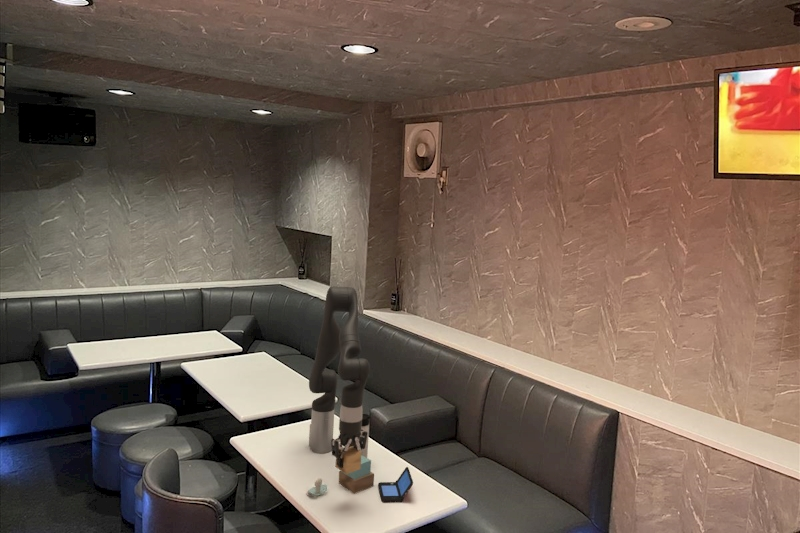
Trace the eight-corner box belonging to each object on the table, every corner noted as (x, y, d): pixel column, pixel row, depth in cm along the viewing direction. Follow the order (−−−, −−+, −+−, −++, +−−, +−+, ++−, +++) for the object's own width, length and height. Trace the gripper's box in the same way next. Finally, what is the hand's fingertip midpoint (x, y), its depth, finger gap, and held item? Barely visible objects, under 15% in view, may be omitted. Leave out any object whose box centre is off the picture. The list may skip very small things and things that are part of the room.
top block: (341, 471, 203) (341, 458, 203) (356, 465, 209) (357, 452, 208) (354, 479, 198) (355, 466, 198) (370, 473, 204) (371, 460, 203)
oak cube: (335, 466, 189) (336, 450, 188) (349, 461, 193) (350, 445, 193) (346, 474, 185) (347, 456, 184) (360, 468, 189) (361, 452, 188)
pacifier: (302, 494, 196) (313, 500, 192) (302, 477, 195) (313, 483, 191) (318, 487, 201) (329, 493, 197) (318, 470, 200) (329, 476, 197)
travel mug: (365, 469, 216) (368, 419, 214) (348, 466, 218) (351, 417, 215) (369, 462, 222) (372, 413, 220) (353, 459, 224) (356, 411, 221)
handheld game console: (377, 485, 205) (378, 465, 204) (406, 484, 207) (407, 465, 206) (381, 503, 193) (382, 483, 192) (412, 503, 194) (413, 482, 194)
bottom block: (338, 484, 204) (339, 471, 204) (357, 477, 210) (358, 464, 210) (354, 494, 198) (354, 481, 197) (373, 486, 204) (374, 473, 204)
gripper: (360, 408, 194) (357, 454, 197) (326, 418, 185) (324, 466, 187) (374, 415, 189) (371, 463, 191) (340, 425, 179) (337, 475, 181)
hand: (348, 464), depth 189 cm, fingers closed on oak cube, 6 cm apart
